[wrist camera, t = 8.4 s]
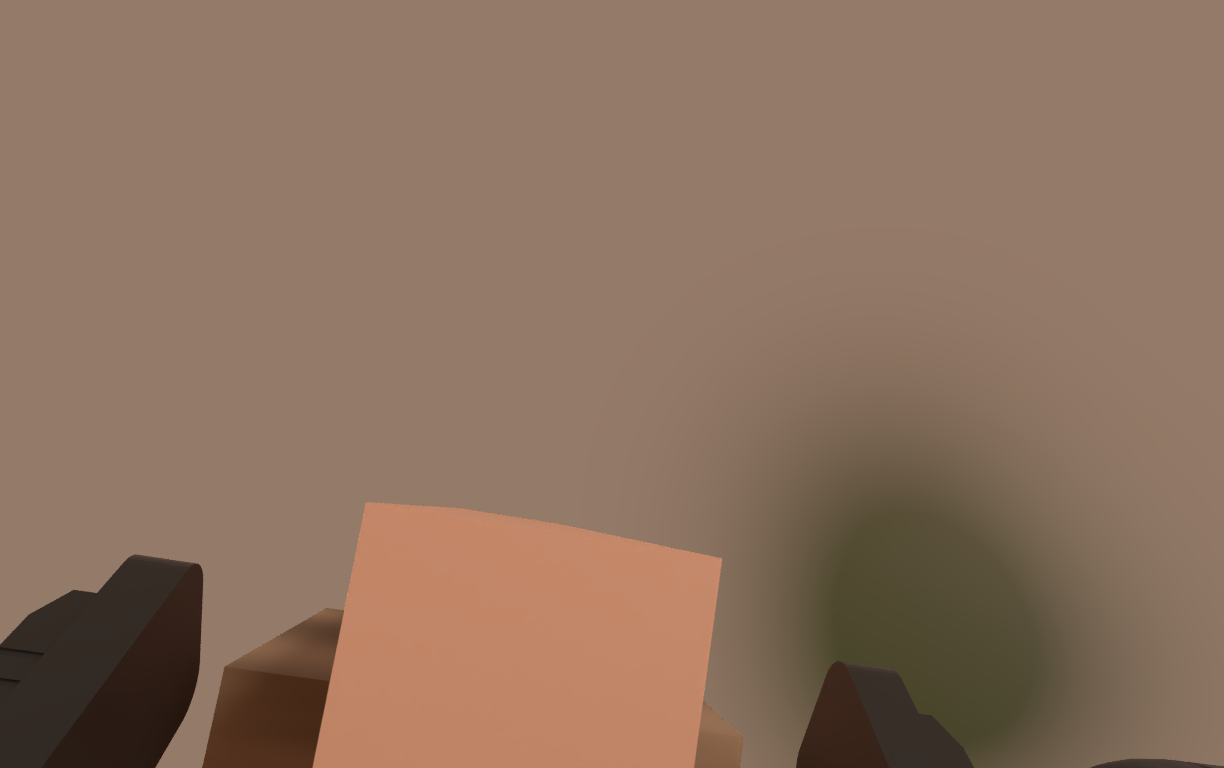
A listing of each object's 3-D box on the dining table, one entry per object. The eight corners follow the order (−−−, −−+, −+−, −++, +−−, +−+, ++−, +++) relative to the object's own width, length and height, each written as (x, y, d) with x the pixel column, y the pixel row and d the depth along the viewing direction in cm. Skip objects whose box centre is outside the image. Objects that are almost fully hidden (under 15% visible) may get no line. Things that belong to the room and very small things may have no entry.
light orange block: (440, 612, 29) (459, 508, 30) (543, 627, 30) (561, 524, 30) (286, 897, 8) (366, 501, 8) (671, 939, 8) (722, 558, 9)
